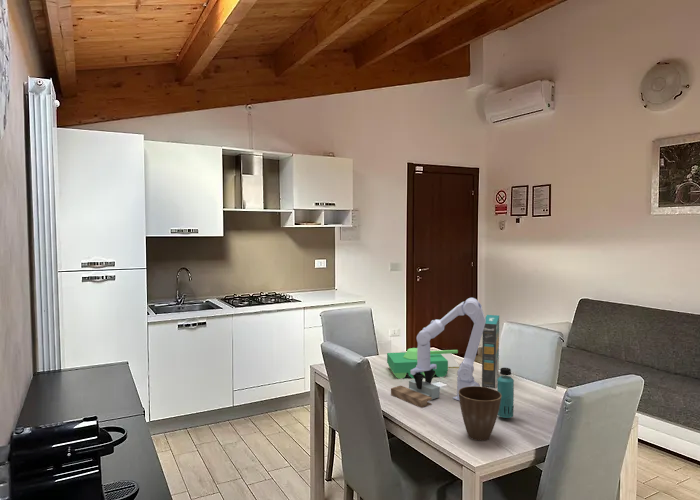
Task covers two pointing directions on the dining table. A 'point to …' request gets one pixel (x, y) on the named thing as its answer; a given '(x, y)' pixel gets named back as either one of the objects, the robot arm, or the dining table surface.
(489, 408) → the plant pot
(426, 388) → the tongue plank
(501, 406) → the beverage bottle
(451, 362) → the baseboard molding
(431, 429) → the dining table surface
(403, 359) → the toy tank
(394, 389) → the grooved board
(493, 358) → the cake mix box
